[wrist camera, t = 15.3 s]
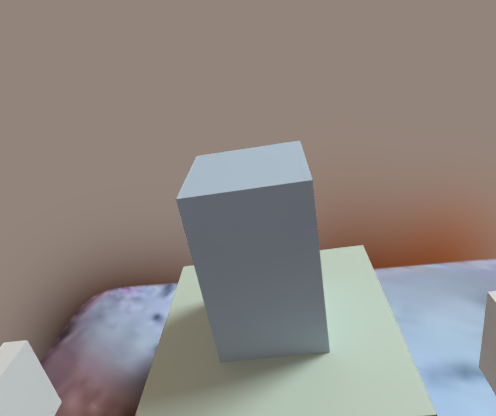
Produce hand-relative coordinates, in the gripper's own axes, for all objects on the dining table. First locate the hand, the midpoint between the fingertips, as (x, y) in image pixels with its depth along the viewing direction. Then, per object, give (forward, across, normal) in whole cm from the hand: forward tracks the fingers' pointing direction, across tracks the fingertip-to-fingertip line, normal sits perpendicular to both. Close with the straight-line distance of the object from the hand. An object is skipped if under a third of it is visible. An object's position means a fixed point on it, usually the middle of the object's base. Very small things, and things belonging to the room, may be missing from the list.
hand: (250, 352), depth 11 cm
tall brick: (+10, 0, -8) cm, 13 cm away
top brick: (+10, 0, -12) cm, 16 cm away
